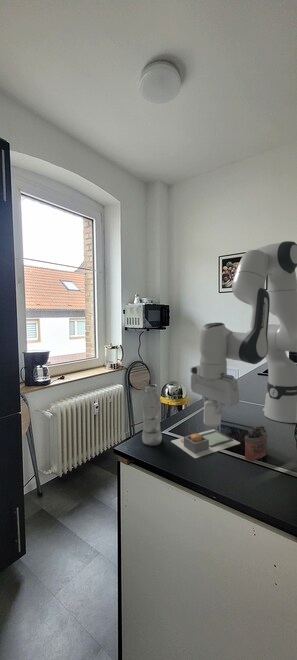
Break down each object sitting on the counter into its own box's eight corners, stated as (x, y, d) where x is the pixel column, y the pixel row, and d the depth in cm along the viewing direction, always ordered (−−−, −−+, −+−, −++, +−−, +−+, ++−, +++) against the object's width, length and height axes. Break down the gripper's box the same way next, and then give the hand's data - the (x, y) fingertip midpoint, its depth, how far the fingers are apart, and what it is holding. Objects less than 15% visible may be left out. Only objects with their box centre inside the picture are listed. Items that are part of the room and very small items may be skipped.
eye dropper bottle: (218, 428, 89) (220, 393, 88) (202, 424, 92) (203, 390, 91) (221, 423, 93) (223, 389, 92) (205, 420, 96) (206, 387, 95)
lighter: (250, 466, 78) (250, 431, 77) (241, 460, 81) (241, 427, 80) (269, 459, 81) (270, 426, 81) (260, 454, 84) (260, 422, 84)
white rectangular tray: (213, 432, 100) (213, 421, 100) (240, 446, 89) (240, 434, 89) (170, 444, 91) (170, 432, 91) (194, 462, 80) (194, 448, 80)
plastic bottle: (160, 450, 88) (159, 388, 87) (139, 448, 89) (138, 388, 88) (163, 441, 94) (162, 384, 93) (144, 439, 95) (143, 383, 94)
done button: (197, 438, 89) (196, 432, 89) (203, 442, 86) (203, 436, 86) (188, 441, 87) (188, 435, 87) (195, 445, 84) (195, 439, 84)
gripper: (244, 375, 84) (243, 419, 84) (201, 365, 102) (201, 402, 102) (229, 377, 81) (229, 423, 81) (187, 367, 99) (187, 404, 99)
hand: (213, 411), depth 92 cm, fingers closed on eye dropper bottle, 4 cm apart
